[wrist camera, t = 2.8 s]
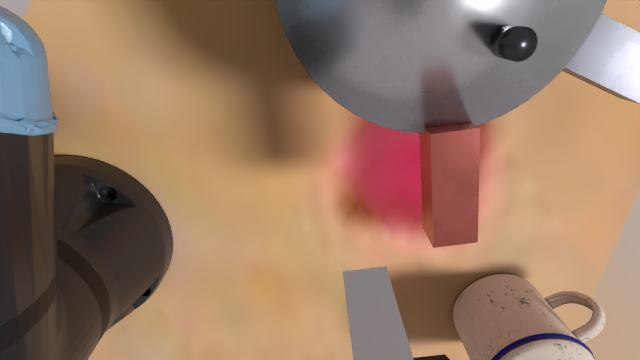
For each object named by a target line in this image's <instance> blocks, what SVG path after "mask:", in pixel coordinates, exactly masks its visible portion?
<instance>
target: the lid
mask: <svg viewBox="0 0 640 360" xmlns="http://www.w3.org/2000/svg"><path fill="white" fill-rule="evenodd" d="M606 1H607V0H276V5H277V9H278V13H279V16H280V19H281V22H282V25H283V27H284V30H285V33H286V36H287V38H288V40H289V42H290V44H291V46H292V48H293V50H294V52H295V54H296V56H297V57H298V59H299V60H300V62H301V63H302V65H303V66H304V68H305V69H306V71H307V72H308V74H309V75H310V76H311V77H312V78H313V79H314V81H315V82H316V83H317V84H318V85H319V86H320V87H321V89H322V90H323V91H325V92H326V93H327V94H328V95H329V96H330V97H331V98H333V99H334V100H335V101H336V102H337V103H338V104H340V105H341V106H343V107H344V108H346V109H347V110H349V111H350V112H352V113H353V114H355V115H357V116H359V117H361V118H363V119H365V120H367V121H369V122H371V123H374V124H377V125H380V126H383V127H386V128H389V129H394V130H399V131H405V132H412V133H420V159H421V186H422V213H423V229H424V231H425V232H426V234H427V236H428V238H429V240H430V242H431V244H432V246H433V248H435V247H443V246H451V245H459V244H467V243H475V242H478V198H479V152H480V127H478V126H477V125H480V124H483V123H486V122H489V121H491V120H493V119H495V118H497V117H500V116H502V115H504V114H506V113H508V112H510V111H511V110H513V109H515V108H516V107H518V106H520V105H521V104H523V103H525V102H526V101H527V100H529V99H530V98H531V97H533V96H534V95H535V94H537V93H538V92H539V91H541V90H542V89H543V88H544V87H545V86H546V85H547V84H549V83H550V82H551V81H552V80H553V79H554V78H555V77H556V76H557V75H558V74H559V73H560V72H561V71H562V70H563V69H564V67H565V66H566V65H567V64H568V63H569V62H570V61H571V59H572V58H573V57H574V56H575V55H576V53H577V52H578V50H579V49H580V48H581V46H582V45H583V43H584V42H585V40H586V39H587V38H588V36H589V35H590V33H591V31H592V29H593V27H594V26H595V24H596V22H597V20H598V18H599V17H600V15H601V13H602V11H603V8H604V6H605V4H606Z"/></svg>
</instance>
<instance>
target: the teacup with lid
mask: <svg viewBox="0 0 640 360" xmlns="http://www.w3.org/2000/svg"><path fill="white" fill-rule="evenodd" d="M567 303H576V304H580V305H583V306H586V307H588V308H589V309H591V310H592V311H593V314H592V317H591V319H590V320H589V322H587V323H586V324H585V325H583V326H581V327H580V328H578V329H576V330H574V331H570V330H569V329H568V327H567V326H566V325H565V324H564V322H563V321H562V320H561V319H560V318H559V316H558V315H557V314H556V313H555V311H554V310H553V309H554V308H556V307H558V306H560V305H563V304H567ZM453 322H454V325H455V328H456V330H457V332H458V334H459V336H460V338H461V341H462V343H463V345H464V347H465V349H466V351H467V354H468V356H469V358H470V360H595V358H594V356H593V354H592V352H591V351H590V349H589V348H588V347H587V346H586V345H585V344H584V342H586V341H588V340H590V339H591V338H593V337H595V336H596V335H598V334H599V333H600V332H601V330H602V329H603V327H604V325H605V314H604V312H603V310H602V308H601V307H600V306H599V304H598V303H597V302H596V301H595V300H593V299H592V298H590V297H589V296H587V295H585V294H582V293H579V292H574V291H562V292H558V293H555V294H552V295H550V296H548V297H546V298H543V297H542V296H541V294H540V293H539V292H538V291H537V290H536V288H535V287H534V286H533V285H532V284H531V283H530V282H528V281H527V280H525V279H523V278H521V277H519V276H515V275H510V274H496V275H491V276H487V277H484V278H481V279H479V280H477V281H475V282H474V283H472V284H471V285H469V286H468V287H467V288H466V289H465V290H464V291H463V292H462V293H461V294H460V296H459V297H458V299H457V300H456V302H455V305H454V309H453Z"/></svg>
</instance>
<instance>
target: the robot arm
mask: <svg viewBox="0 0 640 360" xmlns="http://www.w3.org/2000/svg"><path fill="white" fill-rule="evenodd" d="M57 122H58V119H57V117H56V115H55V114H54V113H53V111H52V105H51V95H50V85H49V75H48V65H47V56H46V52H45V48H44V46H43V43H42V41H41V40H40V38H39V36H38V35H37V33H36V32H35V31H34V30H33V28H32V27H31V26H30V25H29V24H28V23H26V22H25V21H24V20H23V19H21V18H20V17H19V16H18V15H16V14H14V13H12V12H11V11H9V10H8V9H6V8H3V7H1V6H0V360H88V358H89V356H90V355H91V353H92V352H93V350H94V348H95V347H96V345H97V344H98V342H99V340H100V339H101V337H102V336H103V334H104V333H105V332H106V331H107V330H108V329H110V328H111V327H112V326H114V325H115V324H116V323H118V322H119V321H120V320H122V319H123V318H124V317H126V316H127V315H128V314H130V313H131V312H132V311H133V310H135V309H136V308H138V307H139V306H140V305H141V304H143V303H144V302H145V301H146V300H147V299H148V298H149V297H150V296H151V295H152V294H153V293H154V292H155V290H156V289H157V287H158V286H159V284H160V282H161V281H162V279H163V277H164V275H165V273H166V272H167V269H168V267H169V265H170V262H171V258H172V253H173V237H172V231H171V227H170V224H169V221H168V219H167V216H166V214H165V212H164V210H163V209H162V207H161V205H160V204H159V202H158V201H157V200H156V198H155V197H154V196H153V195H152V194H151V193H150V191H149V190H148V189H147V188H146V187H144V186H143V185H142V184H141V183H140V182H139V181H137V180H136V179H135V178H133V177H132V176H131V175H129V174H127V173H126V172H124V171H122V170H120V169H119V168H117V167H114V166H112V165H110V164H107V163H105V162H102V161H99V160H95V159H91V158H86V157H79V156H57V157H54V144H53V133H54V132H56V131H57ZM343 277H344V285H345V293H346V302H347V310H348V318H349V326H350V334H351V342H352V351H353V359H354V360H450V359H449V358H448V357H447V356H446V355H436V356H427V357H419V358H413V355H412V352H411V349H410V345H409V342H408V339H407V335H406V332H405V328H404V325H403V322H402V318H401V315H400V312H399V308H398V305H397V301H396V298H395V295H394V291H393V288H392V284H391V281H390V278H389V274H388V271H387V268H386V267H378V268H370V269H361V270H353V271H345V272H343Z"/></svg>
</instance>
